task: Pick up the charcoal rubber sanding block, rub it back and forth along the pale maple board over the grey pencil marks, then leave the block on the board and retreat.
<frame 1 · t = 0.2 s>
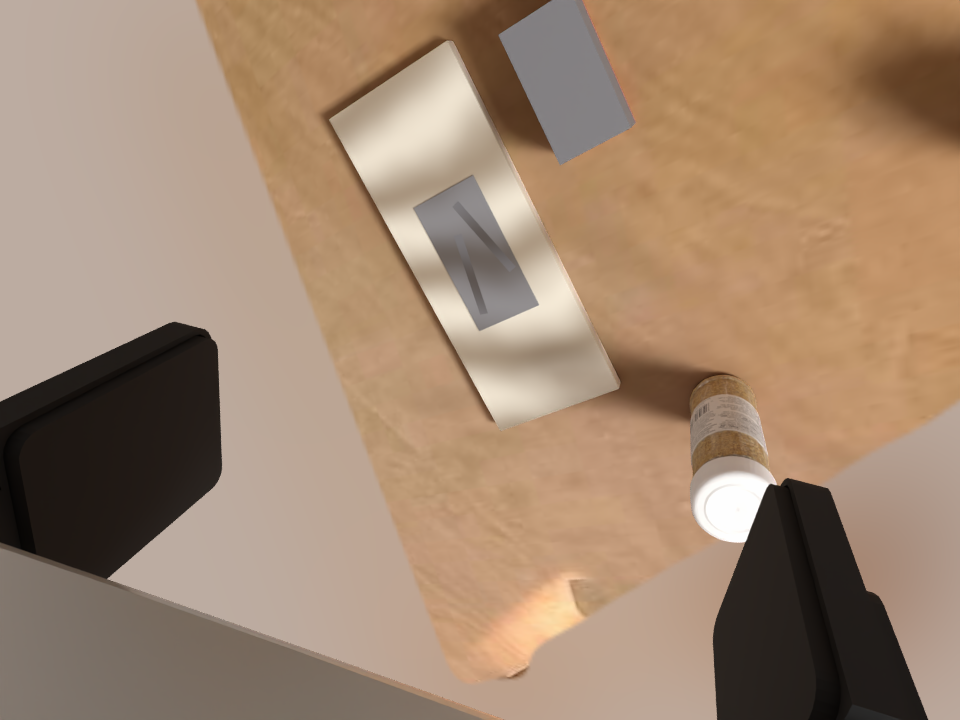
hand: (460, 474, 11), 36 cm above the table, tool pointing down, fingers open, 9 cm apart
board: (481, 252, 48), on the table
spice jar: (722, 399, 47), on the table
sanding block: (577, 80, 42), on the table
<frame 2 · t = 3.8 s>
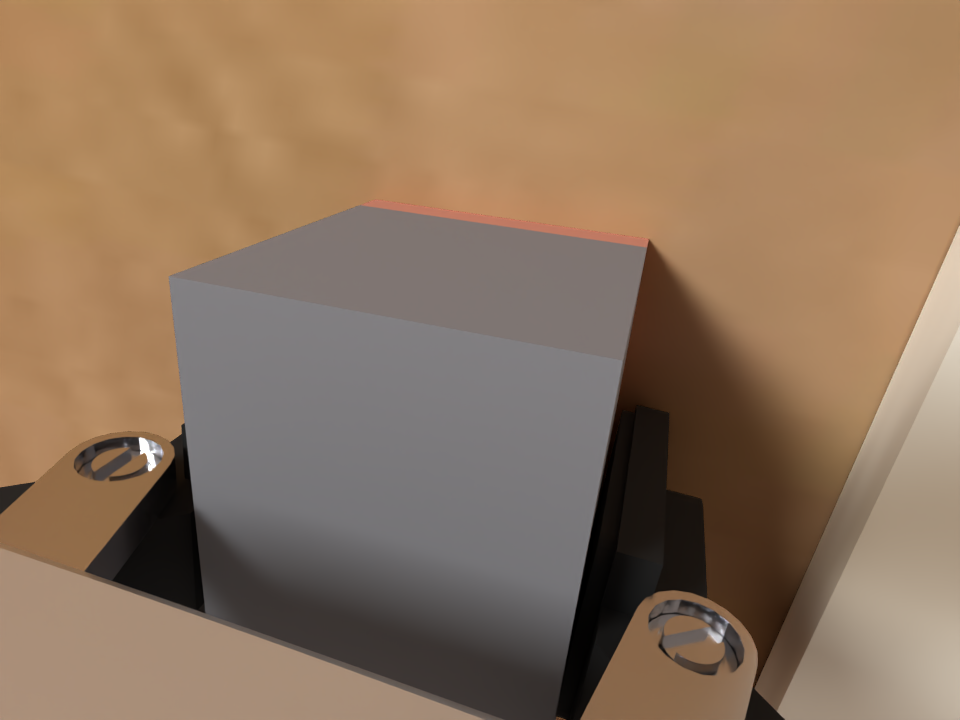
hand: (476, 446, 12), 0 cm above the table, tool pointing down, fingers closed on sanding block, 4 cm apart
sanding block: (483, 434, 12), on the table, touching gripper
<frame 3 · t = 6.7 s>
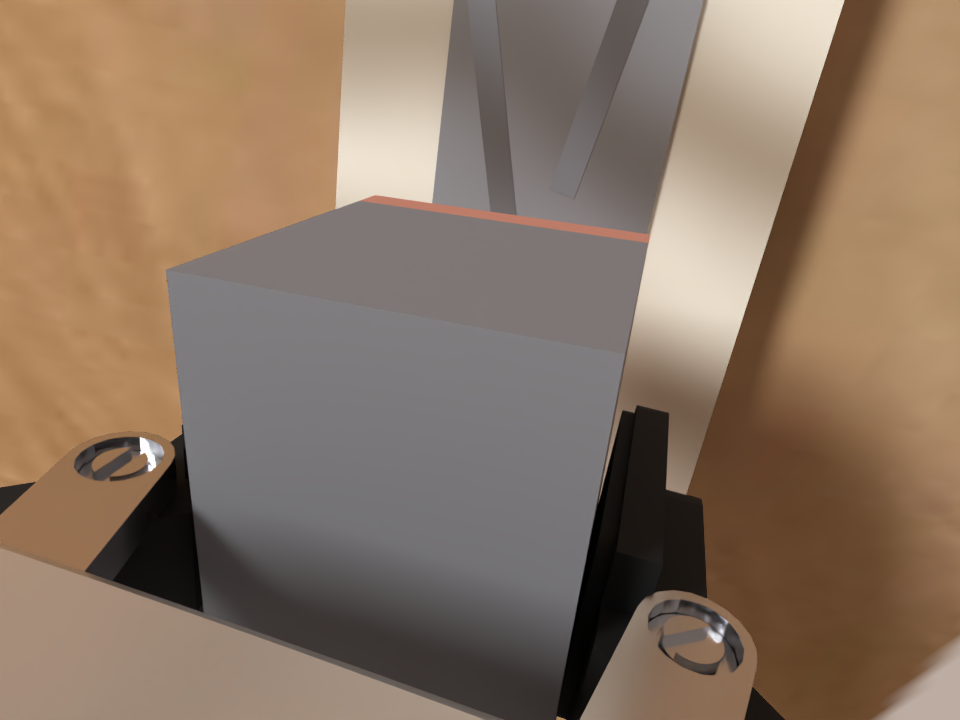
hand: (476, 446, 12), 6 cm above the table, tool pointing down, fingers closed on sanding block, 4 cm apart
board: (565, 96, 15), on the table
sanding block: (484, 432, 12), point 6 cm above the table, touching gripper
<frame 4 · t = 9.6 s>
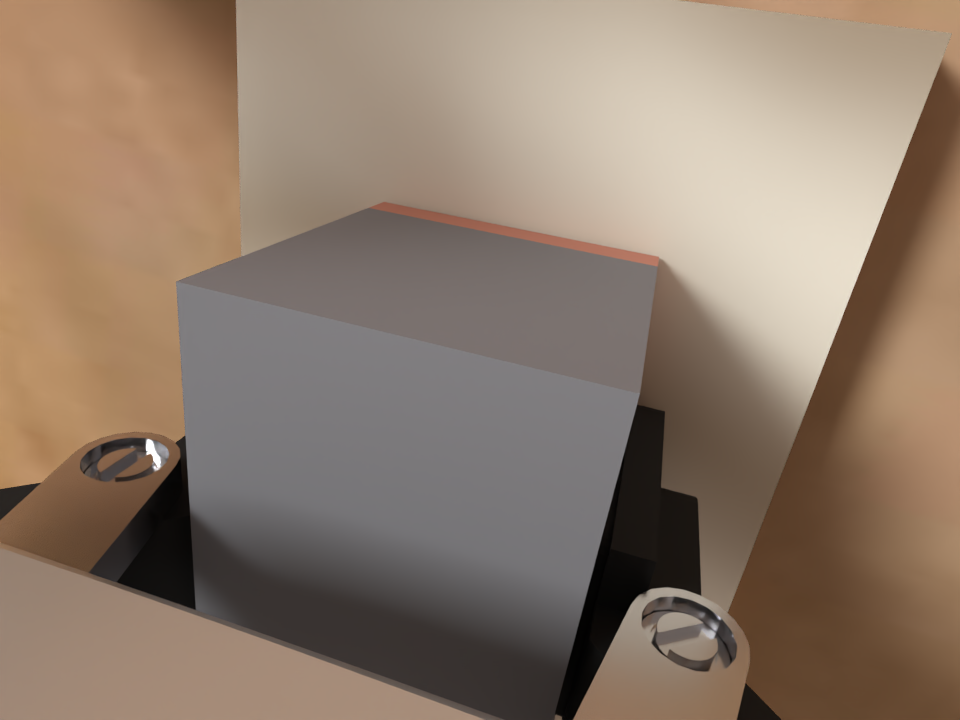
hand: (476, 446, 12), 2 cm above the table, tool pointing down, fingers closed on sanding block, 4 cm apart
board: (465, 618, 16), on the table
sanding block: (481, 443, 12), point 1 cm above the table, touching gripper
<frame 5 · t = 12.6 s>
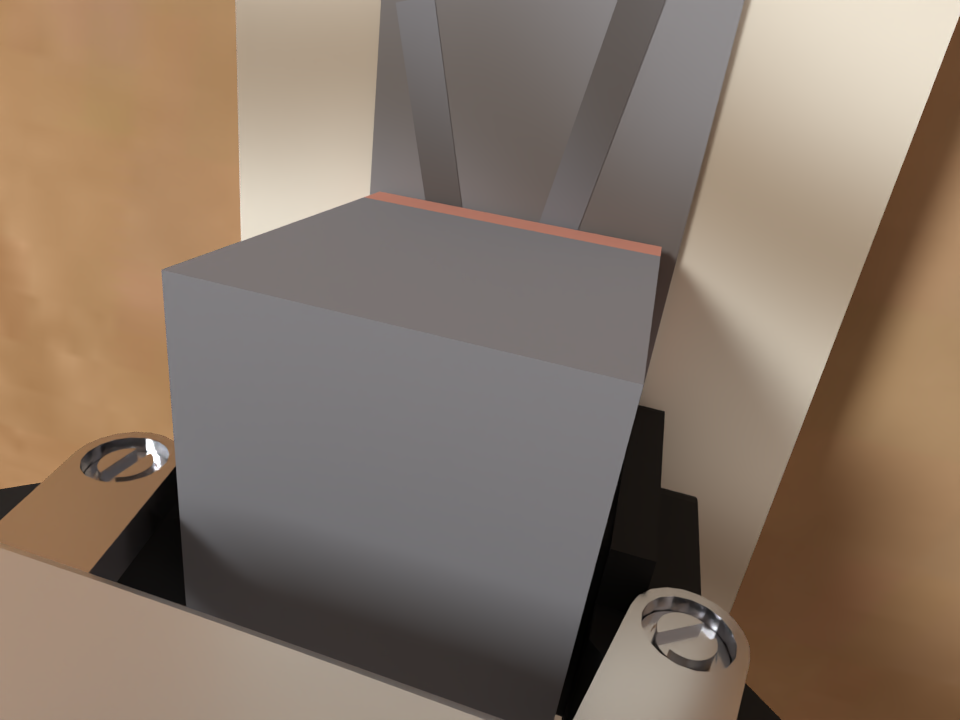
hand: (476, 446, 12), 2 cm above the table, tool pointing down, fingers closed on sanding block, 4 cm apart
board: (543, 149, 11), on the table
sanding block: (480, 438, 12), point 1 cm above the table, touching gripper
when the fingers open (2 cm above the table, at t = 15.5 s): sanding block stays where it is, resting on board.
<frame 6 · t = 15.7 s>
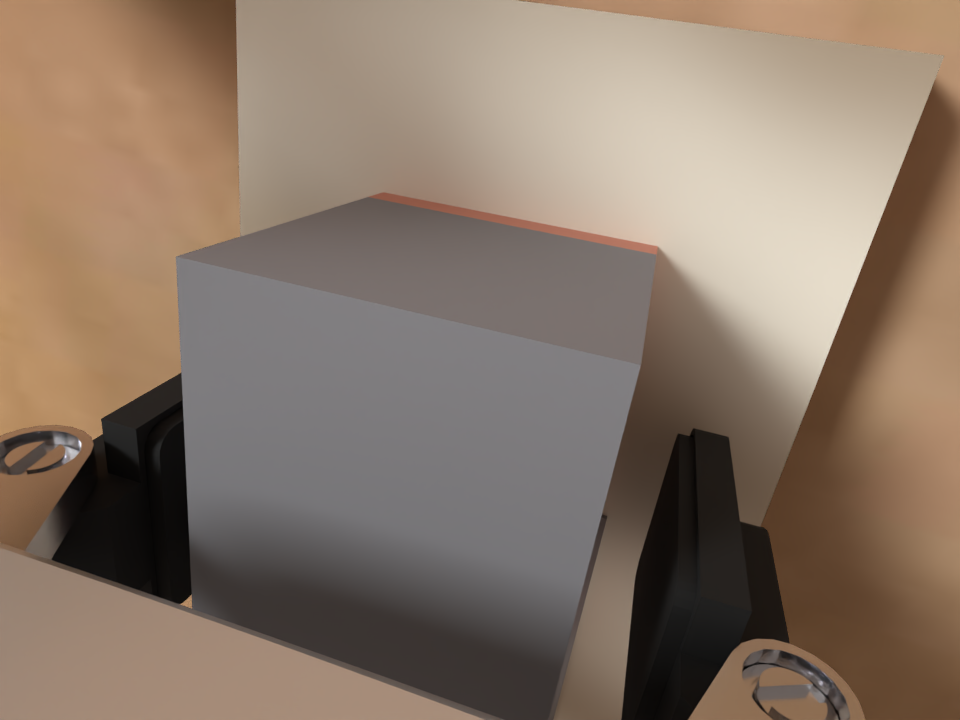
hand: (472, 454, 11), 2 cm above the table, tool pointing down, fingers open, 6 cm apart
board: (463, 626, 16), on the table
sanding block: (479, 435, 12), point 1 cm above the table, touching board
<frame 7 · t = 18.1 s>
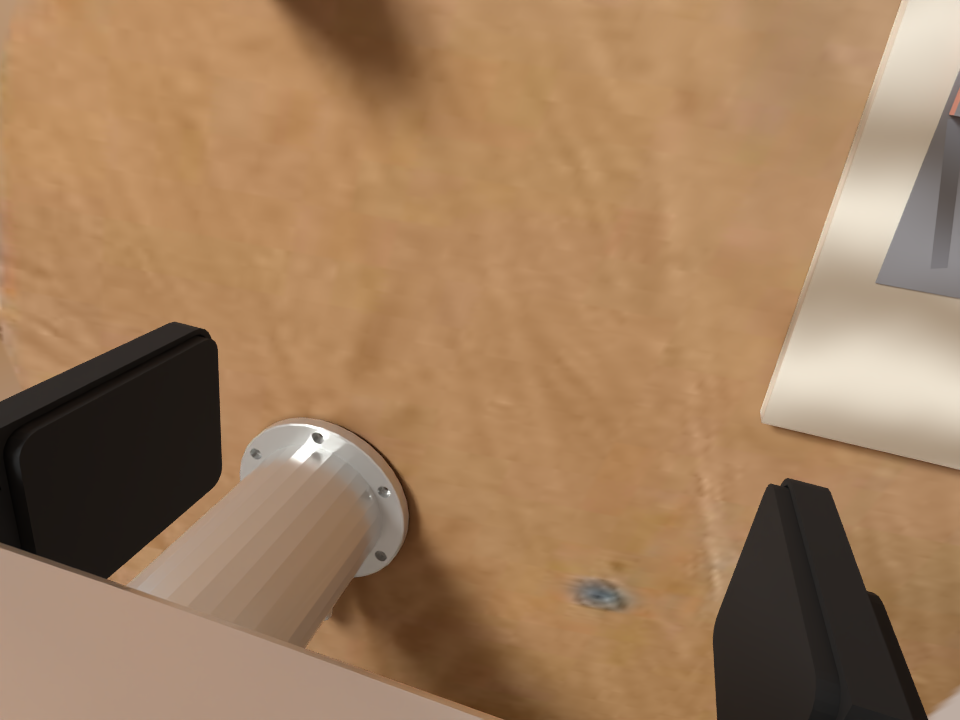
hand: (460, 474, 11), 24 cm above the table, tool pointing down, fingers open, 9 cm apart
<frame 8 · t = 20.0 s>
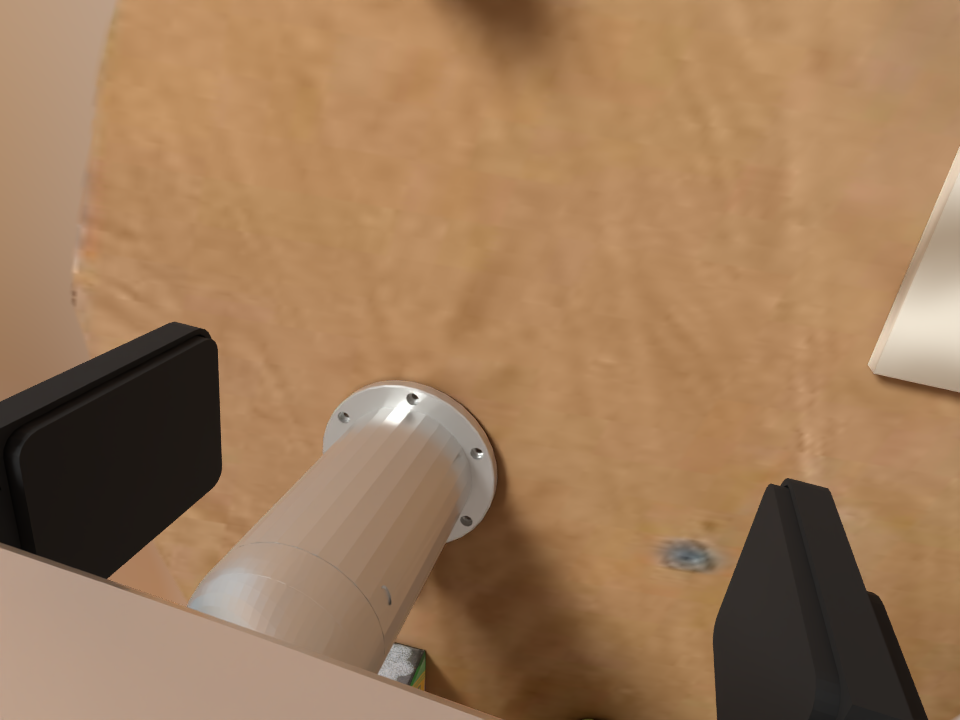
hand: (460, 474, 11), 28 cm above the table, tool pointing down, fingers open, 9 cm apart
chalk box: (378, 673, 56), on the table
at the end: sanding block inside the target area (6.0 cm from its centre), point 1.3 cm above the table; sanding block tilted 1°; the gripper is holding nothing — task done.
